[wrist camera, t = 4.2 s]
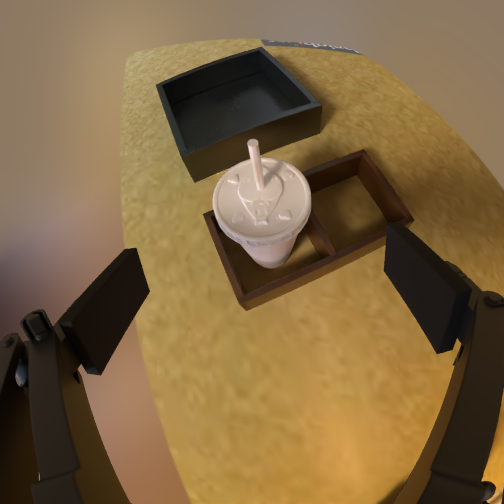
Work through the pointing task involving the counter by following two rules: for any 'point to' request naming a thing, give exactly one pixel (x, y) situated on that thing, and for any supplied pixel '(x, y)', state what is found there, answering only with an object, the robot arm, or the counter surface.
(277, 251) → the smoothie
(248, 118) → the dark grey square tray
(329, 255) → the wooden divided frame
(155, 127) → the counter surface
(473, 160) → the counter surface
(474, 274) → the counter surface
